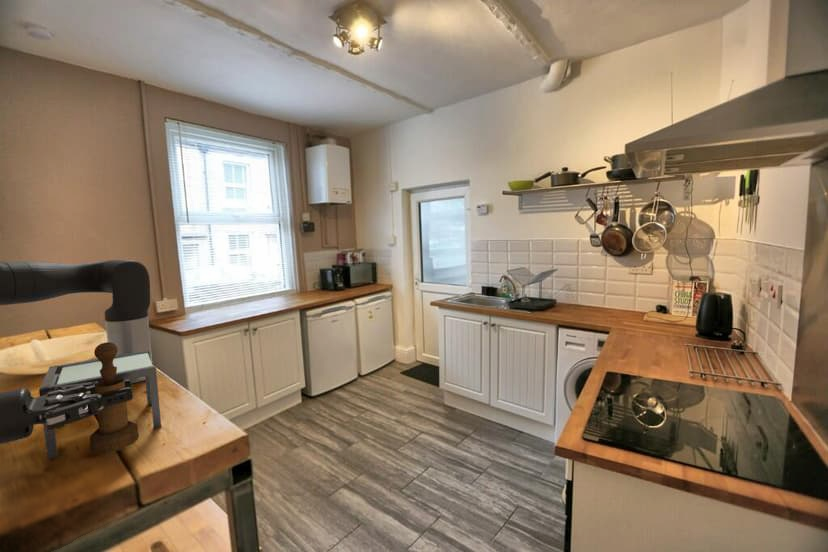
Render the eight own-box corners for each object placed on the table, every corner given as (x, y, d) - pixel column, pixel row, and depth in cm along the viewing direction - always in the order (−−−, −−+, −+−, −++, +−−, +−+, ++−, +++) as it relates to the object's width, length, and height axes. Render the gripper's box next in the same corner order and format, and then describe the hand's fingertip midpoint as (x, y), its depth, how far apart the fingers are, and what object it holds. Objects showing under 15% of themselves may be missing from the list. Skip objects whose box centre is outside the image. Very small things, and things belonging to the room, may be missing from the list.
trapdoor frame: (56, 426, 75) (49, 366, 73) (153, 402, 85) (149, 349, 84) (47, 459, 63) (39, 389, 62) (161, 427, 73) (155, 366, 72)
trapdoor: (63, 372, 73) (62, 367, 73) (148, 357, 82) (147, 352, 82) (57, 390, 64) (56, 385, 64) (153, 371, 73) (152, 366, 73)
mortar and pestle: (148, 436, 65) (139, 339, 63) (109, 457, 59) (98, 350, 57) (121, 431, 67) (111, 337, 65) (80, 451, 61) (68, 347, 59)
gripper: (-2, 427, 59) (131, 396, 70) (-27, 468, 48) (135, 424, 59) (-8, 382, 58) (127, 358, 69) (-35, 415, 47) (131, 380, 58)
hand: (130, 389), depth 64 cm, fingers closed on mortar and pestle, 4 cm apart
